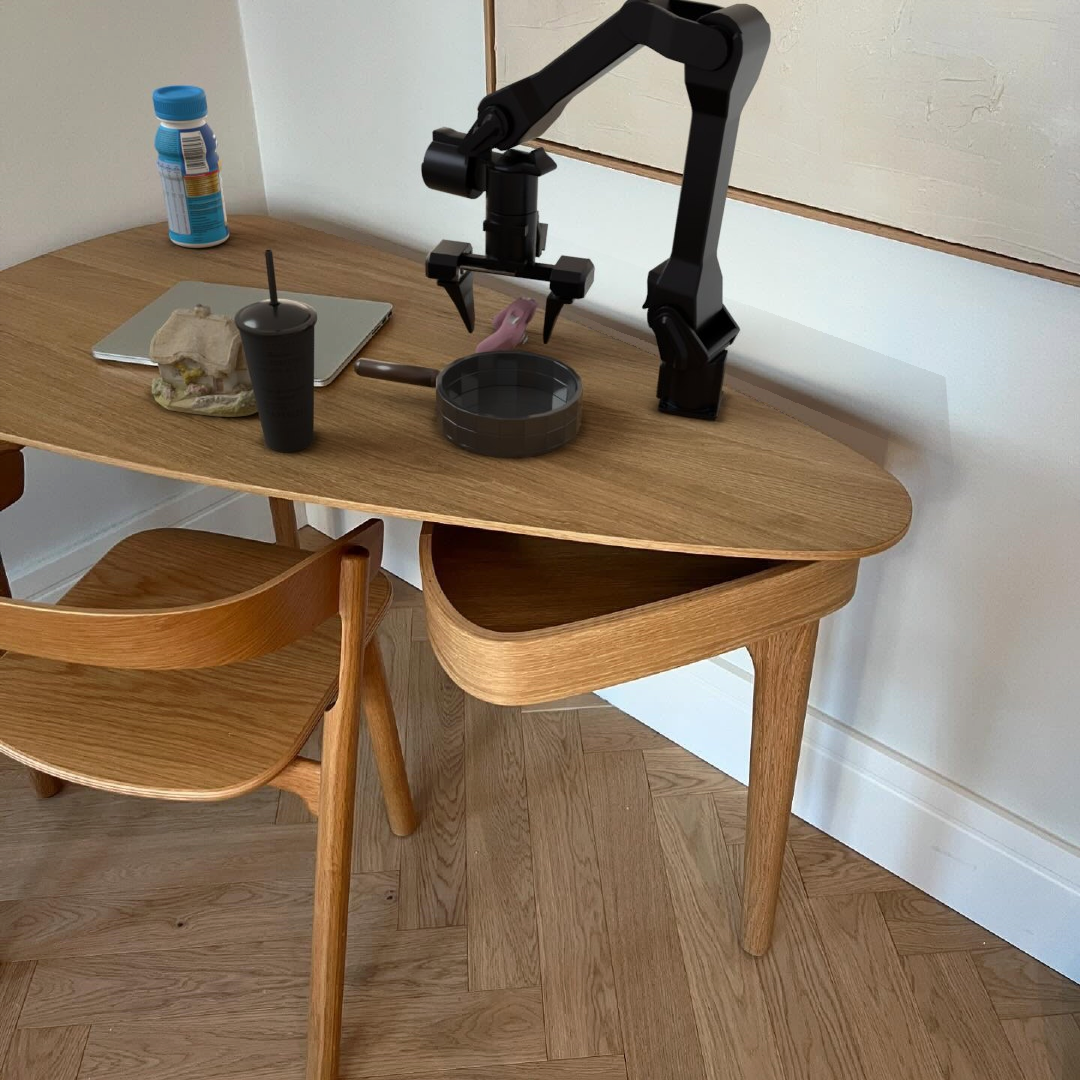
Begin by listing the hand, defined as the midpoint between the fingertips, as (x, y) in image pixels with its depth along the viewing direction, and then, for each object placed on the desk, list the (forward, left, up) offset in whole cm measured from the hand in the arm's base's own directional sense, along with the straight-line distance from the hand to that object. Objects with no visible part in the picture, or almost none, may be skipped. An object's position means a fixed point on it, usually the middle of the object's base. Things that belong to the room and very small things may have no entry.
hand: (508, 337), depth 130 cm
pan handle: (+7, +17, +1) cm, 19 cm away
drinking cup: (+15, +28, -2) cm, 32 cm away
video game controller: (0, 0, -2) cm, 2 cm away
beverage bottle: (+51, -19, -1) cm, 54 cm away
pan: (-5, +17, -1) cm, 18 cm away
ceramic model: (+27, +21, -2) cm, 34 cm away
